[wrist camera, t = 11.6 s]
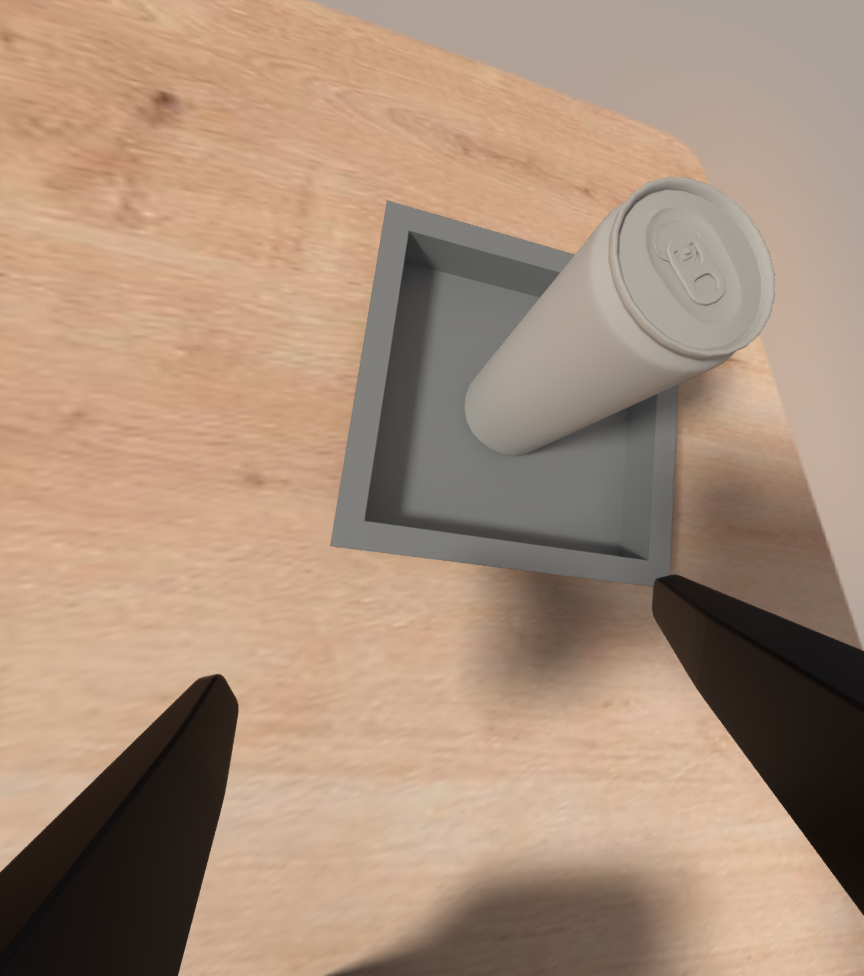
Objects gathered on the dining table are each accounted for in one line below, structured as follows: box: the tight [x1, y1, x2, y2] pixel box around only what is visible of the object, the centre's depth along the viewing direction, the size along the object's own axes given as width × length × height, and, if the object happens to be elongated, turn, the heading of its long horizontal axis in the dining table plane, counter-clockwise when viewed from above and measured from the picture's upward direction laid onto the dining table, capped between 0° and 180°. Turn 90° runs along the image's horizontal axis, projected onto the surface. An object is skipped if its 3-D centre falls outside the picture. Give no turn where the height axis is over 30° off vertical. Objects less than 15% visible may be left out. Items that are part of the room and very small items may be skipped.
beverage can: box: [464, 177, 775, 456], centre depth 16 cm, size 5×5×12 cm
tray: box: [330, 201, 678, 587], centre depth 21 cm, size 16×16×3 cm
